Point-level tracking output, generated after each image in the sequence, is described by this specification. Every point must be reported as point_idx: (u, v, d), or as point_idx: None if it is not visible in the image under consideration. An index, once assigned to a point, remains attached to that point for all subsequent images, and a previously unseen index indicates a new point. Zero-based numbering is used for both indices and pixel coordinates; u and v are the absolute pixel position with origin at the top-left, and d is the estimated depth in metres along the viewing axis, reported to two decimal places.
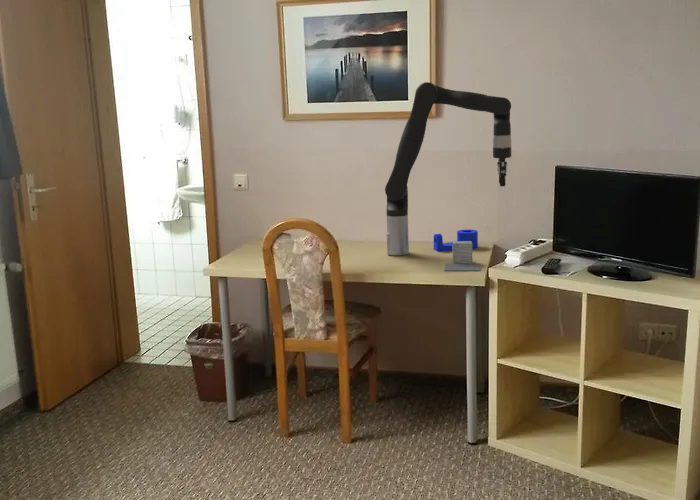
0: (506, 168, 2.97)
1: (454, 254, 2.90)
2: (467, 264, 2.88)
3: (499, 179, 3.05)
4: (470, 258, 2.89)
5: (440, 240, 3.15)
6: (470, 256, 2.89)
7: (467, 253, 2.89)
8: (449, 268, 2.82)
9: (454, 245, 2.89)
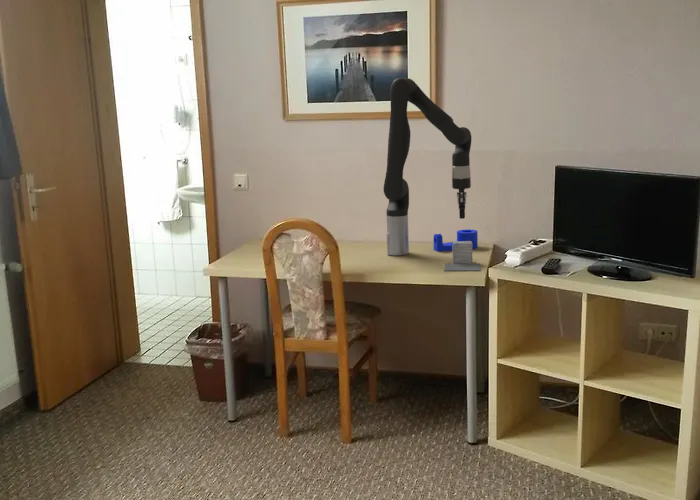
0: (465, 200, 2.94)
1: (454, 254, 2.90)
2: (467, 264, 2.88)
3: None
4: (470, 258, 2.89)
5: (440, 240, 3.15)
6: (470, 256, 2.89)
7: (467, 253, 2.89)
8: (449, 268, 2.82)
9: (454, 245, 2.89)
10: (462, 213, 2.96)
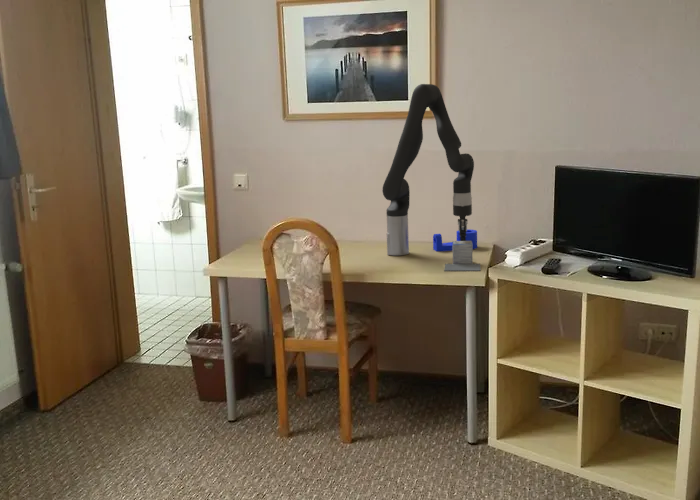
0: (466, 228, 2.90)
1: (454, 254, 2.89)
2: (467, 264, 2.88)
3: (460, 240, 2.93)
4: (470, 258, 2.89)
5: (439, 240, 3.15)
6: (470, 256, 2.89)
7: (467, 254, 2.88)
8: (449, 268, 2.82)
9: (454, 246, 2.88)
10: (463, 240, 2.92)
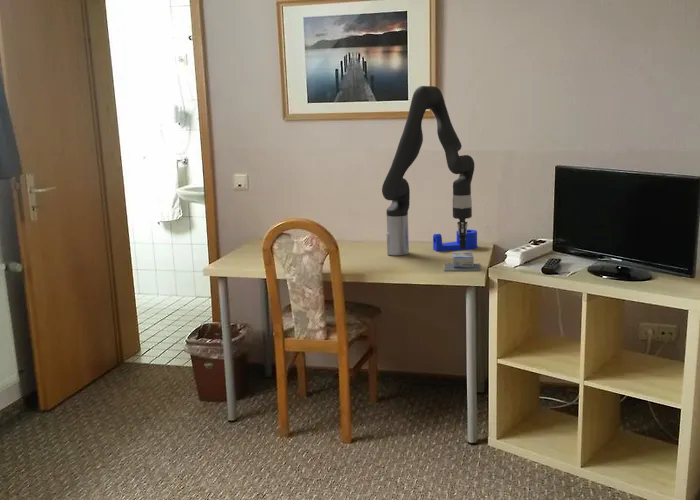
0: (466, 230, 2.85)
1: None
2: None
3: (460, 243, 2.88)
4: None
5: (439, 240, 3.15)
6: None
7: None
8: (449, 268, 2.82)
9: (455, 267, 2.83)
10: (463, 243, 2.87)
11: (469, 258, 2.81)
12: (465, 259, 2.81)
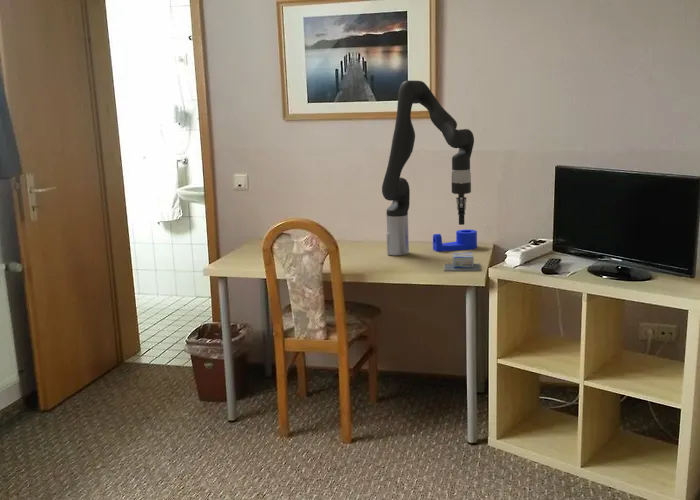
0: (465, 206, 2.81)
1: None
2: None
3: (459, 219, 2.84)
4: None
5: (439, 240, 3.15)
6: None
7: None
8: (449, 268, 2.82)
9: (455, 267, 2.83)
10: (462, 219, 2.82)
11: (469, 258, 2.81)
12: (465, 259, 2.81)
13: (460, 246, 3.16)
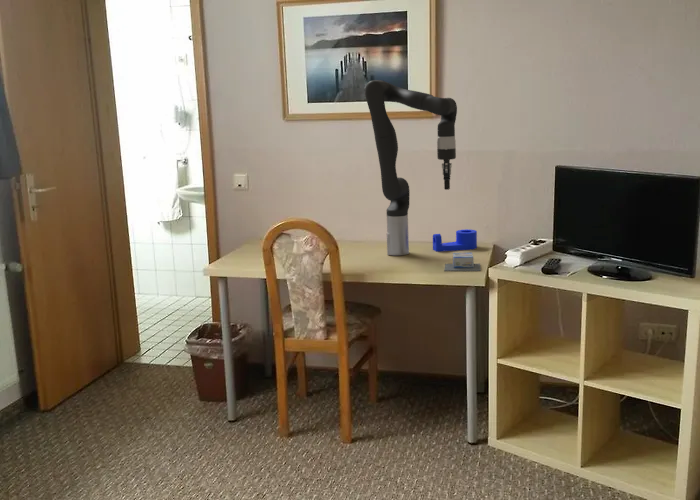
0: (450, 171, 2.94)
1: None
2: None
3: None
4: None
5: (439, 240, 3.15)
6: None
7: None
8: (449, 268, 2.82)
9: (455, 267, 2.83)
10: (447, 184, 2.96)
11: (469, 258, 2.81)
12: (465, 259, 2.81)
13: (460, 246, 3.16)
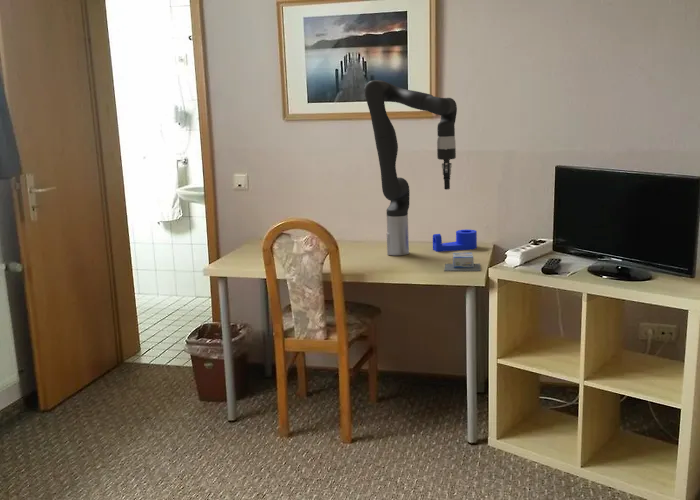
0: (450, 171, 2.94)
1: None
2: None
3: None
4: None
5: (439, 240, 3.15)
6: None
7: None
8: (449, 268, 2.82)
9: (455, 267, 2.83)
10: (447, 184, 2.96)
11: (469, 258, 2.81)
12: (465, 259, 2.81)
13: (460, 246, 3.16)
